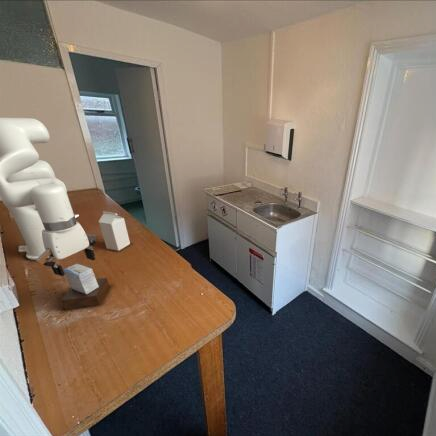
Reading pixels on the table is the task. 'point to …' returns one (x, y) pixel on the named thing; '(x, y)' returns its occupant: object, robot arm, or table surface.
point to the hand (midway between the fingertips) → (76, 266)
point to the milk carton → (114, 231)
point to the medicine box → (81, 278)
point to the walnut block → (85, 296)
